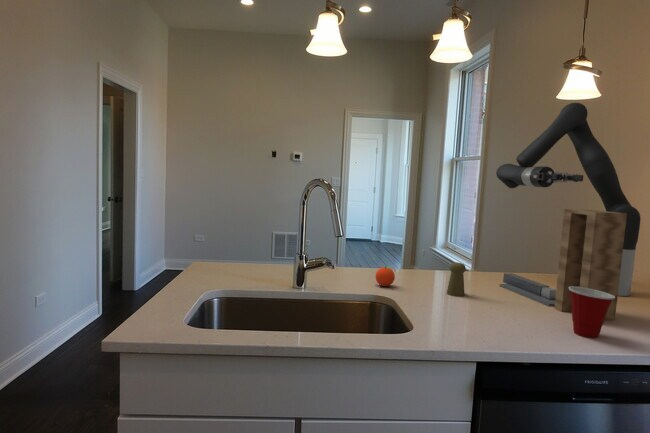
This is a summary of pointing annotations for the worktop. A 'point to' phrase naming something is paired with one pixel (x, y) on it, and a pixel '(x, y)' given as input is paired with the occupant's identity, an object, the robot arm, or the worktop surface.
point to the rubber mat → (530, 295)
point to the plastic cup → (589, 310)
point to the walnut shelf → (590, 255)
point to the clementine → (385, 276)
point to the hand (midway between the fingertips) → (571, 177)
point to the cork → (456, 280)
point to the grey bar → (529, 285)
